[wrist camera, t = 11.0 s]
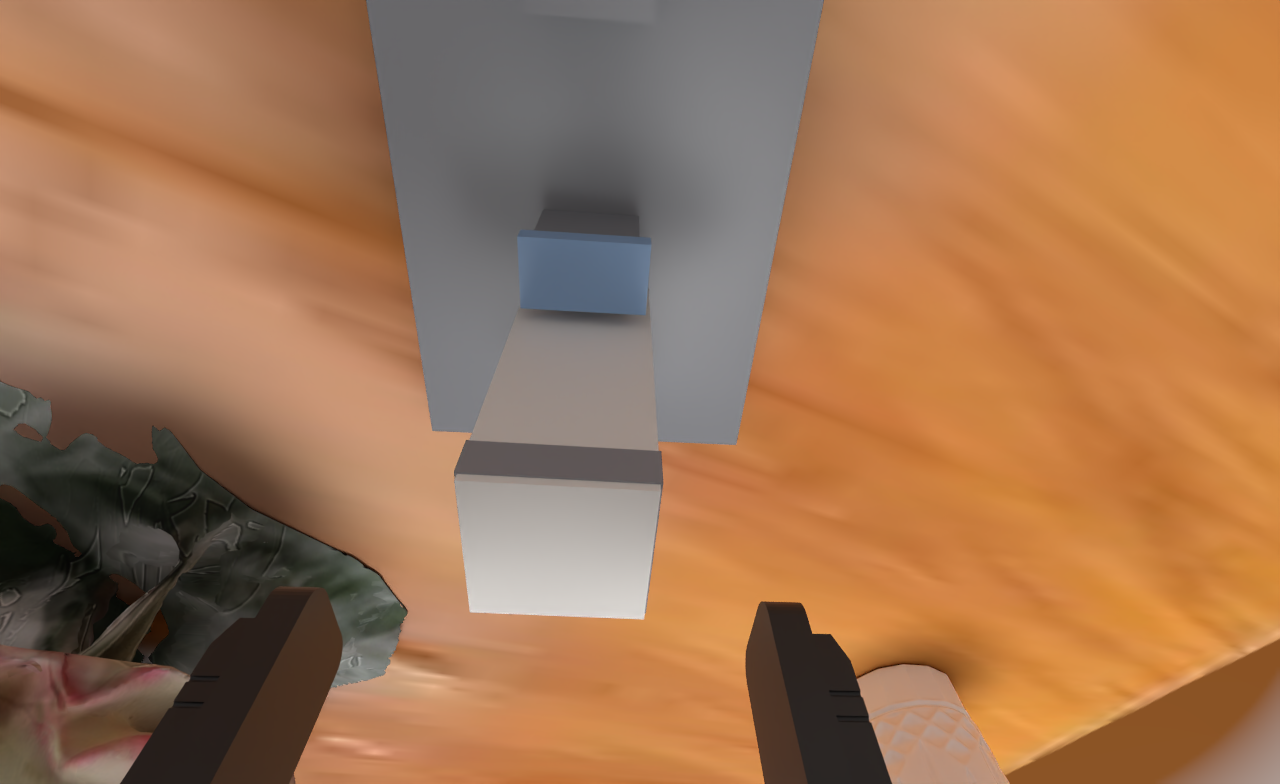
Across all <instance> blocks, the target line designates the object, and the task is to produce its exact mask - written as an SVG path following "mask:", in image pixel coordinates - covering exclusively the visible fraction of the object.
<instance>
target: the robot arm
mask: <svg viewBox="0 0 1280 784" xmlns="http://www.w3.org/2000/svg"><path fill="white" fill-rule="evenodd" d="M342 650H343V639H342V634H341V631H340V628H339V626H338V623H337V620H336V617H335V614H334V611H333V608H332V605H331V603H330V600H329V597H328V594H327V592H326V590H325V589H324V588H319V587H283V586H280V587H277V588H275V589H274V590H273V591H272V592H271V593H270V594H269V596H268V597H267V599H266V600H265V602H264V604H263V605H262V607H261V609H260V610H259V612H258V614H257V615H256V617H255V618H239V619H238V620H237V621H236V622H234V623H233V624H232V625H231V626H230V627H229V628H228V629H227V630H225V631H224V632H223V633H222V634H221V635H220V636H219V637H218V638H217V639H215V640H214V641H213V642H212V643H211V644H210V645H209V647H208V648H207V650H206V652H205V653H204V655H203V656H202V658H201V659H200V661H199V662H198V664H197V665H196V667H195V669H194V670H193V672H192V673H191V675H190V680H189V681H188V682H185V684H184V686H183V687H182V689H181V690H180V692H179V693H178V695H177V696H176V698H175V699H174V701H173V702H174V704H173V706H172V708H169V709H168V710H167V712H166V713H165V715H164V717H163V718H162V720H161V721H160V723H159V724H158V726H157V727H156V729H155V730H154V732H153V734H152V735H151V737H150V738H149V740H148V741H147V743H146V744H145V746H144V747H143V749H142V751H141V752H140V754H139V755H138V757H137V758H136V760H135V761H134V763H133V764H132V766H131V768H130V769H129V771H128V772H127V774H126V775H125V777H124V778H123V780H122V781H121V783H120V784H289V783H290V780H291V778H292V776H293V773H294V771H295V769H296V766H297V764H298V762H299V759H300V757H301V755H302V753H303V750H304V748H305V746H306V743H307V741H308V739H309V736H310V734H311V732H312V729H313V727H314V725H315V722H316V720H317V718H318V715H319V713H320V711H321V708H322V706H323V704H324V701H325V699H326V697H327V695H328V692H329V690H330V688H331V685H332V683H333V681H334V678H335V676H336V674H337V671H338V668H339V665H340V661H341V657H342ZM746 679H747V685H748V691H749V697H750V702H751V708H752V714H753V719H754V725H755V731H756V736H757V742H758V748H759V753H760V759H761V765H762V770H763V776H764V782H765V784H892V782H891V779H890V776H889V773H888V770H887V767H886V764H885V761H884V758H883V755H882V752H881V749H880V747H879V744H878V741H877V738H876V735H875V732H874V729H873V726H872V723H871V722H870V721H869V714H868V711H867V708H866V705H865V702H864V699H863V697H861V694H860V692H861V690H860V687H859V684H858V682H857V679H856V676H855V673H854V670H853V667H852V664H851V661H850V659H849V658H848V657H847V655H846V654H845V653H844V651H843V650H842V649H841V647H840V646H839V645H838V643H837V642H836V641H835V639H834V638H833V637H832V636H831V634H812V631H811V628H810V624H809V621H808V618H807V614H806V611H805V609H804V607H803V605H802V604H801V603H794V602H760V604H759V606H758V609H757V613H756V616H755V620H754V623H753V627H752V631H751V634H750V638H749V641H748V645H747V649H746Z"/></svg>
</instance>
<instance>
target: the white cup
mask: <svg viewBox="0 0 1280 784" xmlns="http://www.w3.org/2000/svg"><path fill="white" fill-rule="evenodd" d="M857 682H858V684H859V687H860V690H861V692H860V694H861V697H863V699H864V702H865V705H866V708H867V711H868V714H869V721H870V722H871V723H872V726H873V729H874V732H875V735H876V738H877V741H878V744H879V747H880V749H881V752H882V755H883V758H884V761H885V764H886V767H887V770H888V773H889V776H890V779H891V782H892V784H1010V783H1009V782H1008V780H1007V778H1006V777H1005V775H1004V774H1003V772H1002V771H1001V769H1000V767H999V765H998V763H997V761H996V759H995V757H994V755H993V753H992V751H991V750H990V748H989V746H988V745H987V743H986V742H985V740H984V738H983V736H982V734H981V732H980V730H979V728H978V726H977V725H976V724H975V723H974V722H973V721H972V720H971V717H970V716H969V714H968V713H967V711H966V709H965V707H964V705H963V703H962V702H961V700H960V698H959V696H958V694H957V692H956V690H955V688H954V686H953V685H952V683H951V681H950V679H949V678H948V676H947V675H946V674H945V673H943V672H940V671H938V670H936V669H934V668H932V667H929V666H924V665H909V664H901V665H896V666H890V667H885V668H880V669H876V670H874V671H872V672H870V673H868V674H866V675H864V676H862V677H860V678H858V679H857Z"/></svg>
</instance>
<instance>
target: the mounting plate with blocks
mask: <svg viewBox="0 0 1280 784" xmlns="http://www.w3.org/2000/svg"><path fill="white" fill-rule="evenodd" d="M823 2H824V0H366V3H367V10H368V16H369V23H370V29H371V36H372V42H373V49H374V55H375V62H376V68H377V75H378V81H379V87H380V94H381V100H382V107H383V113H384V120H385V126H386V133H387V139H388V146H389V152H390V159H391V165H392V172H393V178H394V185H395V191H396V198H397V204H398V211H399V217H400V224H401V230H402V237H403V243H404V250H405V256H406V263H407V269H408V276H409V282H410V289H411V295H412V302H413V308H414V315H415V321H416V328H417V334H418V340H419V347H420V353H421V360H422V366H423V373H424V379H425V386H426V392H427V399H428V405H429V412H430V418H431V425H432V431H447V432H468V433H472V432H473V429H474V427H475V424H476V421H477V419H478V416H479V413H480V411H481V408H482V405H483V403H484V400H485V397H486V395H487V392H488V389H489V387H490V384H491V381H492V379H493V376H494V373H495V371H496V368H497V365H498V363H499V360H500V357H501V355H502V352H503V349H504V347H505V344H506V341H507V339H508V336H509V333H510V331H511V328H512V325H513V323H514V320H515V317H516V315H517V312H518V309H519V307H520V308H523V309H540V310H558V311H576V312H594V313H612V314H629V315H646V306H647V293H648V288H649V303H650V319H651V336H652V352H653V368H654V385H655V401H656V418H657V434H658V441H663V442H684V443H706V444H728V445H736V443H737V438H738V433H739V427H740V422H741V417H742V412H743V407H744V402H745V397H746V392H747V387H748V382H749V377H750V372H751V367H752V362H753V357H754V352H755V346H756V341H757V336H758V331H759V326H760V321H761V316H762V311H763V306H764V301H765V296H766V291H767V286H768V281H769V276H770V271H771V265H772V260H773V255H774V250H775V245H776V240H777V235H778V230H779V225H780V220H781V215H782V210H783V205H784V200H785V195H786V190H787V185H788V179H789V174H790V169H791V164H792V159H793V154H794V149H795V144H796V139H797V134H798V129H799V124H800V119H801V114H802V109H803V104H804V98H805V93H806V88H807V83H808V78H809V73H810V68H811V63H812V58H813V53H814V48H815V43H816V38H817V33H818V28H819V23H820V17H821V12H822V7H823Z"/></svg>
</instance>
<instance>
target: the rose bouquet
mask: <svg viewBox="0 0 1280 784" xmlns="http://www.w3.org/2000/svg"><path fill="white" fill-rule="evenodd" d="M50 404H51V402H50V401H49V400H47V401H44V400H43V399H42V398H41V397H40V398H38V399H37V398H35V397H34V396H33V395H32V394H31V393H29V392H28V391H25V390H22V389H18V388H15V387H12V386H9V385H7V384H4V383H2V382H0V486H1V485H3V484H5V485H9V486H10V485H11V486H12V487H14V488H16V489H17V490H19V491H20V492H21V493H22V494H24V495H25V496H26V497H28V498H29V499H30V500H32V501H33V502H34V503H36V504H37V505H38V506H40V507H41V508H42V509H44V510H45V511H47V512H48V513H49V514H50V515H51V516H53V517H55V518H56V519H57V521H58V522H60V524H61V525H62V526H63V528H64V529H65V530H66V531H67V533H68V535H69V538H70V540H71V543H72V544H73V546H74V547H75V548H76V549H78V550H79V551H80V552H81V553H82V554H81V555H80V556H79V557H78V556H77V557H75V555H74V554H75V553H76V552H75V553H72V552H71V551H69V550H67V549H65V548H64V547H61V546H59V545H57V544H55V543H54V542H53V540H54V539H55V538H56V536H57V534H56V530H55V528H54V527H53V526H52V525H49V524H44V525H42V526H34V525H33V524H31V523H30V522H28V521H27V520H25V519H24V518H23V517H22V516H21V514H20V513H19V512H18V510H17V508H16V507H14V506H13V505H12V504H11V503H9V502H7V501H5V500H3V499H1V498H0V784H120V783H121V781H122V780H123V778H124V777H125V775H126V774H127V772H128V771H129V769H130V768H131V766H132V764H133V763H134V761H135V760H136V758H137V757H138V755H139V754H140V752H141V751H142V749H143V747H144V746H145V744H146V743H147V741H148V740H149V738H150V737H151V735H152V734H153V732H154V730H155V729H156V727H157V726H158V724H159V723H160V721H161V720H162V718H163V717H164V715H165V713H166V712H167V710H168V709H169V708H172V706H173V704H174V702H173V701H174V699H175V698H176V696H177V695H178V693H179V692H180V690H181V689H182V687H183V686H184V684H185V682H188V681H189V680H190V675H191V673H192V672H193V670H194V669H195V667H196V665H197V664H198V662H199V661H200V659H201V658H202V656H203V655H204V653H205V652H206V650H207V648H208V647H209V645H210V644H211V643H212V642H213V641H214V640H215V639H217V638H218V637H219V636H220V635H221V634H222V633H223V632H224V631H225V630H227V629H228V628H229V627H230V626H231V625H232V624H233V623H234V622H236V621H237V620H238V619H239V618H255V617H256V615H257V614H258V612H259V610H260V609H261V607H262V605H263V604H264V602H265V600H266V599H267V597H268V596H269V594H270V593H271V592H272V591H273V590H274V589H275V588H277V587H280V586H283V587H319V588H324V589H325V590H326V592H327V594H328V597H329V600H330V603H331V605H332V608H333V611H334V614H335V617H336V620H337V623H338V626H339V628H340V631H341V634H342V639H343V650H342V657H341V661H340V665H339V668H338V671H337V674H336V676H335V678H334V681H333V683H332V685H331V687H337V685H338V686H340V685H343V684H346V685H347V684H348V683H358V681H359V682H361V681H360V680H363V681H367V680H369V679H373V678H376V677H379V676H383V675H384V674H385V673H386V672H385V671H384V670H385V669H386V668H387V666H388V665H389V664H390V659H389V657H391V656H392V655H391V654H393V653H394V652H393V651H395V650H396V645H397V643H398V641H399V639H398V637H399V634H400V632H401V630H400V623H403V620H404V617H405V616H406V615H407V610H406V608H405V606H404V605H403V604H402V603H401V602H400V601H399V600H398V599H397V598H396V597H395V596H394V595H393V594H392V592H391V591H390V589H389V588H388V587H387V586H386V584H385V583H384V582H383V580H382V578H381V577H380V576H379V575H378V574H376V573H375V572H373V571H372V570H370V569H368V568H367V567H365V566H364V565H362V564H361V563H360V562H359V561H357V560H356V559H354V558H352V557H351V556H348V555H346V554H344V553H342V552H340V551H337V550H335V549H333V548H331V547H329V546H327V545H325V544H323V543H321V542H319V541H317V540H314V539H312V538H310V537H308V536H306V535H304V534H302V533H300V532H298V531H296V530H294V529H292V528H289V527H287V526H285V525H283V524H281V523H279V522H277V521H275V520H273V519H271V518H269V517H267V516H264V515H262V514H260V513H258V512H256V511H254V510H252V509H250V508H249V507H248V506H246V505H245V504H244V503H242V502H241V501H240V500H239V499H237V498H236V497H235V496H233V495H232V494H231V493H229V492H228V491H227V490H225V489H224V488H223V487H222V486H220V485H219V484H218V483H216V482H215V481H214V480H212V479H211V478H210V477H208V476H207V475H206V474H205V473H203V472H202V471H201V470H200V469H199V468H198V467H197V465H196V464H195V463H194V461H193V460H192V459H191V457H190V456H189V455H188V453H187V452H186V451H185V450H184V448H183V447H182V446H181V444H180V443H179V442H178V440H177V439H176V438H175V436H174V435H173V434H172V432H171V431H169V430H168V429H166V428H163V429H162V430H161V431H159V430H158V429H157V428H156V427H154V426H152V444H153V450H154V451H155V453H156V455H157V457H158V462H157V463H155V464H149V463H139V464H136V463H134V462H132V461H131V460H129V459H128V458H126V457H124V456H122V455H121V454H119V453H117V452H114V451H112V450H111V449H109V448H107V447H105V446H103V445H102V444H101V443H100V442H99V441H97V437H95V436H94V435H93V434H88V433H85V434H82V435H81V436H80V437H78V438H77V439H75V440H74V441H73V442H72V443H70V445H69V446H68V447H67V448H66V449H65V450H59V449H58V448H56V447H54V446H53V445H51V444H50V441H49V440H48V439H47V438H46V436H47V434H48V431H49V428H50V425H51V421H52V411H51V408H50ZM21 423H25V424H27V425H29V426H30V427H32V428H34V429H36V430H37V432H38V433H39V434H40V435H41V436H43V439H42V441H41V442H39V441H36V440H32V439H29V438H25V437H22V436H21V435H19V434H18V433H17V432H16V431H14V430H13V429H15V427H16V426H18V425H17V424H21ZM112 573H113V574H119V575H121V576H123V577H125V578H126V579H128V580H129V581H131V582H133V583H134V584H136V585H137V586H138V587H139V588H140V589H141V590H143V591H144V592H145V594H144V595H143V596H142V597H141V598H139V599H138V600H137V601H136V602H134V603H133V604H132V605H131V606H130V605H128V604H126V603H125V602H123V601H121V600H120V599H118V598H117V597H116V595H117V594H116V592H117V590H118V583H117V582H115V581H113V580H112V579H111V578H110V577H109V576H110V575H111V574H112ZM400 604H401V605H402V606H403V607H401V605H400ZM159 610H161V612H162V614H163V616H164V618H165V621H166V623H167V625H168V629H169V634H168V636H167V637H166V638H165V639H163V640H162V641H161V642H160V643H159V644H158V646H157V647H156V649H155V650H154V652H153V653H151V656H149V657H148V658H149V660H150V661H151V662H152V663H153V664H145V663H141V661H143V660H142V659H143V657H144V655H142V654H141V653H140V651H139V650H138V649H137V648H138V646H139V644H140V643H141V641H142V639H143V638H144V636H145V635H146V634H149V632H151V630H150V629H151V625H152V622H153V620H154V618H155V616H156V614H157V612H158V611H159ZM289 784H295V777H294V773H293V776H292V778H291V780H290V783H289Z"/></svg>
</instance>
